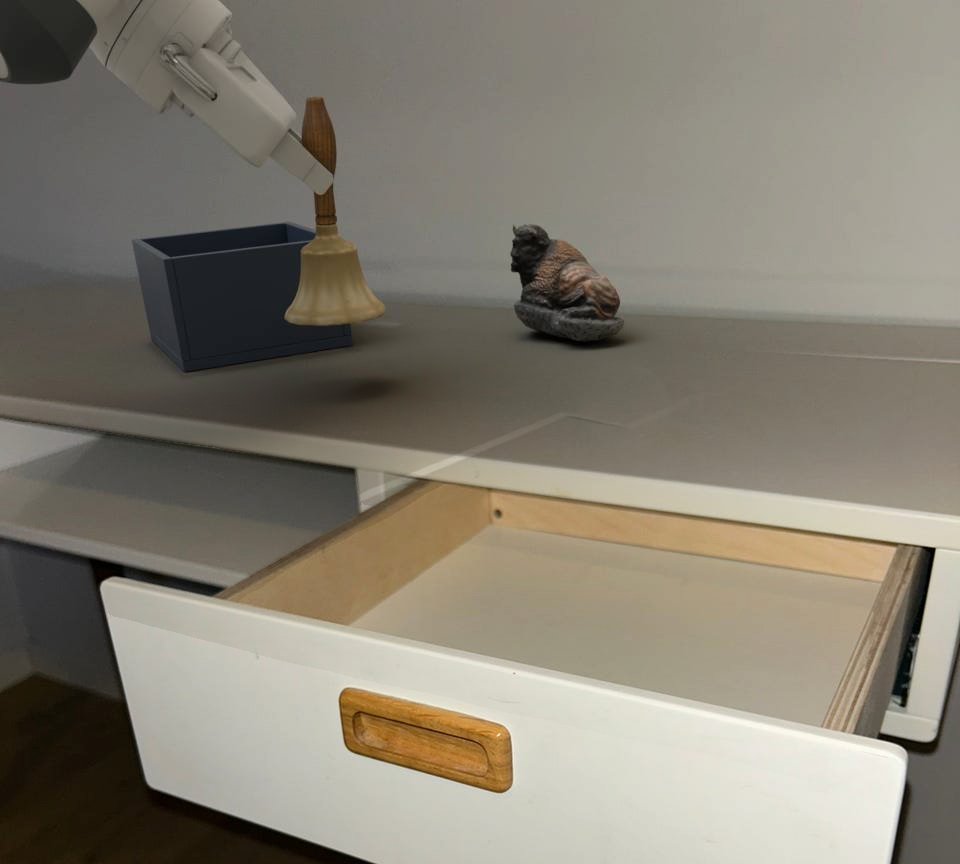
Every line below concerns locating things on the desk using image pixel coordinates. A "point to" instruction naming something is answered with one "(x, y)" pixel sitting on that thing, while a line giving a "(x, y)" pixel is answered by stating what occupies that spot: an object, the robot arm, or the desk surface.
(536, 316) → the bison figurine
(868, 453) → the desk surface
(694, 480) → the desk surface
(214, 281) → the bin
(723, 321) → the desk surface
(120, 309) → the desk surface
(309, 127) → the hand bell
